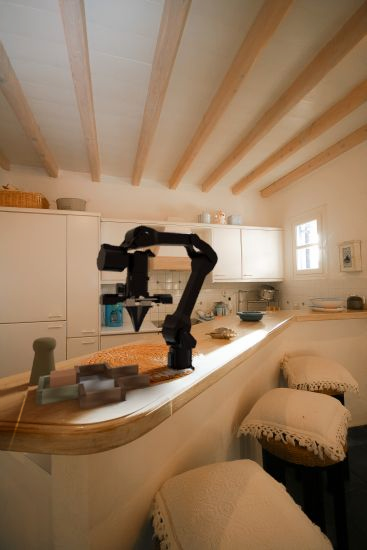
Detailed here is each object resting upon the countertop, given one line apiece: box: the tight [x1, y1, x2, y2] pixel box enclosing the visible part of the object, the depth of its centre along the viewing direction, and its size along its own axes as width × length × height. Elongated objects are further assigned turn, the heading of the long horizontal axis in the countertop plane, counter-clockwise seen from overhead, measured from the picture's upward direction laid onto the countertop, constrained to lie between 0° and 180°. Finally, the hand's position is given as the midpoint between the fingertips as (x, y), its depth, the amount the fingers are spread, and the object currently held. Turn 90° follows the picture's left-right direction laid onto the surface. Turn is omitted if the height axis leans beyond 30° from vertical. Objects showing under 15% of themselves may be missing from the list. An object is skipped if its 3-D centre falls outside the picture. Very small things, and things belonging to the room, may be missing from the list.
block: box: [50, 367, 76, 388], centre depth 54 cm, size 5×5×4 cm
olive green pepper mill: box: [28, 336, 57, 387], centre depth 62 cm, size 6×6×11 cm
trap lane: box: [35, 361, 151, 410], centre depth 57 cm, size 23×21×3 cm
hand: (136, 331), depth 65 cm, fingers closed
